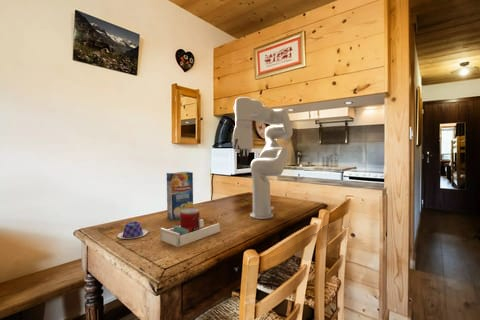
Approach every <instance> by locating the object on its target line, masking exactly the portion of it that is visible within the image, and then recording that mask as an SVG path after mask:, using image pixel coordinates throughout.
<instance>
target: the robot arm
mask: <svg viewBox="0 0 480 320" xmlns="http://www.w3.org/2000/svg"><path fill="white" fill-rule="evenodd" d="M233 112H234V121H235V126H234V129H233V134H232V149H234V150H235V151H234V152H235V153H238V156H239V165H241V166H247V165H248V156H249V153H252V151H253V150H252V149H253V148H254V136H253V135H254V134H253V129H252V128H253V127H252V122H253V121H254V122H255V121H256V122H262V123H264V124H267V125H268V126H266V127H265V129H264V131H263V132H264V140H265V142H264V143H265V145H264V146H263V147H262V150H261V151H260V154H259V157H257V158H254V159H252V160H251V162H250V173H251V178H252V211H251V212H250V213H249V216H250V218H253V219H257V220H266V219H272V218H273V217H274V213H272V211H273V210H274V209H275V206H274V205H273V206H271V183H270V181H269V180H270V179H269V178H268V177H279V176H281V175H282V174H283V172H284V170H285V168H286V165H287V163H288V160H289V152H288V149H287V148H286V147H284V146H280V144H279V143H278V141H277V140H285V139H290V138H291V137H292V136H293V126H292V123H291V120H290V116H289V113H288V112H287V110H286V109H285V108H273V109H272V108H269V107H268V106H267V105H263V104H262V102H261V101H260V100H258V99H251V98H250V97H248V96H240V97H237V98H236V99H235V101H234V105H233Z"/></svg>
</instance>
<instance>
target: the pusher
mask: <svg viewBox="0 0 480 320" xmlns="http://www.w3.org/2000/svg"><path fill="white" fill-rule="evenodd" d="M179 226H180V225H174V226H173V228H174V232H176V233H179V234H180V236H181V235H184V234H187V233H189V230H188V229H185V228H182V227H179Z"/></svg>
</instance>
